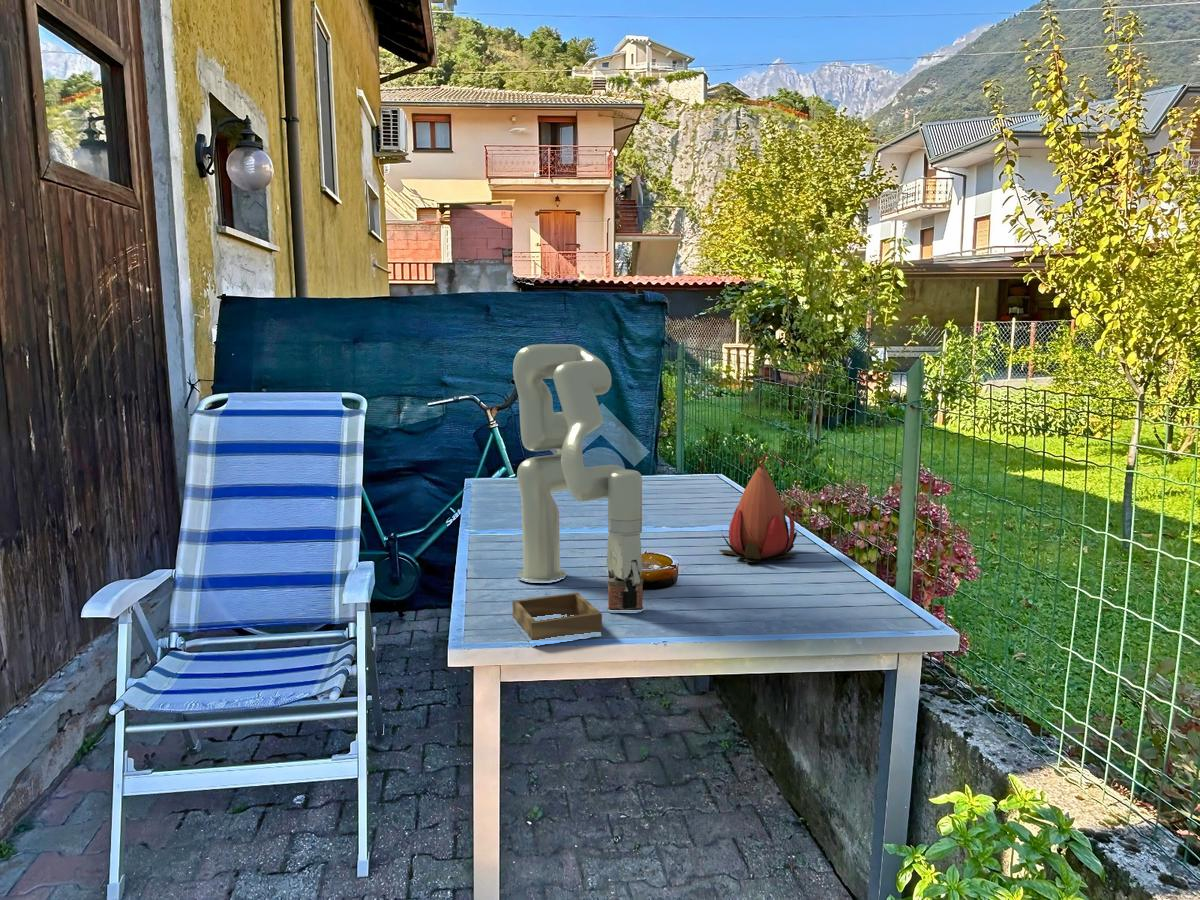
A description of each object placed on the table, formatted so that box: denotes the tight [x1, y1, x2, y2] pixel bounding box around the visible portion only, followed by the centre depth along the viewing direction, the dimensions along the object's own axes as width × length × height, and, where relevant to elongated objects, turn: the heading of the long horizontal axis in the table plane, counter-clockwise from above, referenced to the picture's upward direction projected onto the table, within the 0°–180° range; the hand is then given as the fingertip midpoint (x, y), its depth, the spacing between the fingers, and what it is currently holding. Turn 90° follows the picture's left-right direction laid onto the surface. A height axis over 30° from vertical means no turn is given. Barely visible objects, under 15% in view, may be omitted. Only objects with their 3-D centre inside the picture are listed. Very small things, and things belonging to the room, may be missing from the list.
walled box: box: [512, 592, 603, 640], centre depth 169 cm, size 15×15×5 cm
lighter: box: [606, 569, 644, 610], centre depth 180 cm, size 8×3×10 cm, turn 92°
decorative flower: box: [718, 449, 798, 563], centre depth 223 cm, size 22×23×30 cm
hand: (625, 603), depth 180 cm, fingers closed on lighter, 4 cm apart
